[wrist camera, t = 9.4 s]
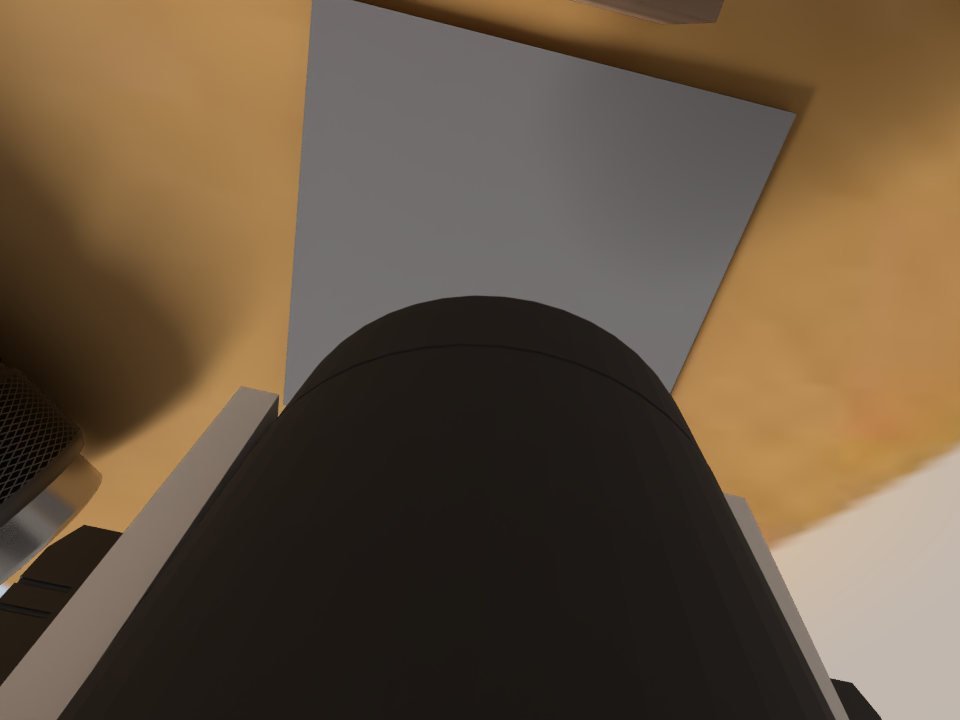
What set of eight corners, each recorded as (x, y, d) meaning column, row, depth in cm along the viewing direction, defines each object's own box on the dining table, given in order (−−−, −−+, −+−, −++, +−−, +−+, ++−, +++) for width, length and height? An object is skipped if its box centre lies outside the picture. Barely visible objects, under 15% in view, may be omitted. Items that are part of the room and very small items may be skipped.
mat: (318, -9, 19) (312, -11, 19) (789, 111, 20) (796, 113, 20) (287, 397, 27) (283, 404, 26) (628, 472, 28) (630, 480, 27)
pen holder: (333, 612, 16) (108, 1295, 7) (221, 288, 12) (-658, 1032, 3) (691, 602, 15) (922, 1387, 6) (716, 243, 11) (1588, 1199, 2)
